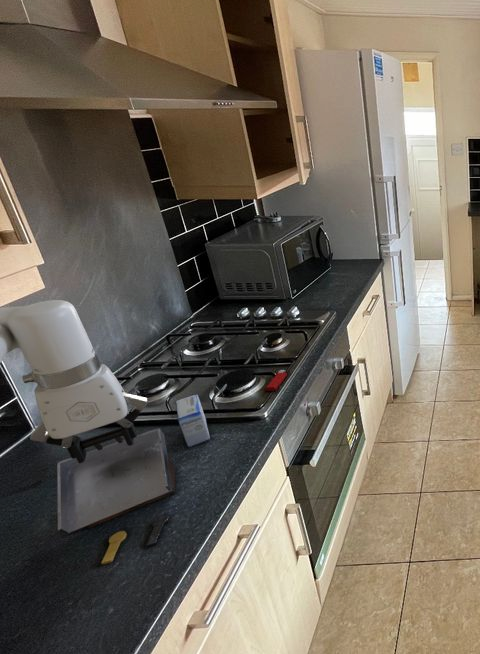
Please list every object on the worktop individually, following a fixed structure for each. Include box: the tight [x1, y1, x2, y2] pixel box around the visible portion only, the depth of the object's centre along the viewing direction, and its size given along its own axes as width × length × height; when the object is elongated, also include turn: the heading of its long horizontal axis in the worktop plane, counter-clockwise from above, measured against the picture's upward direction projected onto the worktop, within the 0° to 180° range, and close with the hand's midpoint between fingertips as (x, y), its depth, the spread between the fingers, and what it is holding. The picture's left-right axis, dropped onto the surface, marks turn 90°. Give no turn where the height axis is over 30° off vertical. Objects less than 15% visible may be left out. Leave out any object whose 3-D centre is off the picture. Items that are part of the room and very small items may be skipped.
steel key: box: [146, 514, 170, 547], centre depth 79 cm, size 2×6×1 cm, turn 21°
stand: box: [87, 452, 176, 529], centre depth 84 cm, size 13×7×5 cm, turn 127°
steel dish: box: [56, 427, 172, 535], centre depth 77 cm, size 15×13×8 cm
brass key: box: [100, 530, 128, 566], centre depth 76 cm, size 2×6×1 cm, turn 23°
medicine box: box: [175, 394, 211, 448], centre depth 99 cm, size 8×4×9 cm, turn 40°
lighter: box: [265, 369, 289, 392], centre depth 119 cm, size 3×1×8 cm
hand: (107, 448), depth 78 cm, fingers closed on steel dish, 6 cm apart
